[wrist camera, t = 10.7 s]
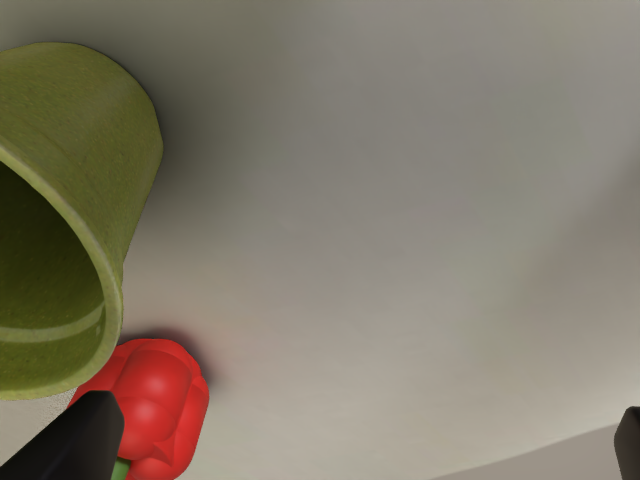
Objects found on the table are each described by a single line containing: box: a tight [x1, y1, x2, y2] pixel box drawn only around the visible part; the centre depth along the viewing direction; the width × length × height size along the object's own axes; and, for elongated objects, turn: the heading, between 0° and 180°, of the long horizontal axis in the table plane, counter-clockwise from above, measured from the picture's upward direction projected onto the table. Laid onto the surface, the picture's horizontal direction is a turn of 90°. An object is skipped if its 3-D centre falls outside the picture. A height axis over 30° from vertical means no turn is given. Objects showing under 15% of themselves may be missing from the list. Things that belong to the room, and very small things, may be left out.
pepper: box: [66, 339, 209, 480], centre depth 24 cm, size 6×6×7 cm
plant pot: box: [0, 42, 164, 401], centre depth 15 cm, size 9×9×9 cm
